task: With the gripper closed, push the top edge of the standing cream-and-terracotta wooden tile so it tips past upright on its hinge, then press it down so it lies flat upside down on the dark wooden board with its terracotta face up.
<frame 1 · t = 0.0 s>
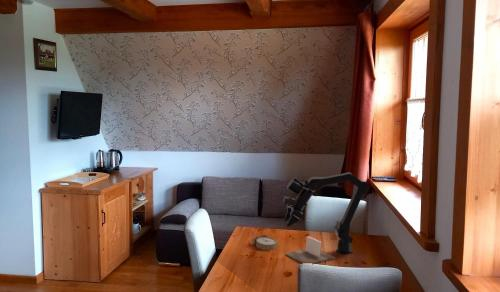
hand: (285, 223, 200), 15 cm above the table, tool tilted 35°, fingers open, 9 cm apart
tile: (313, 245, 196), point 5 cm above the table, hinge at 85.0°
alarm clock: (264, 246, 210), on the table
board: (309, 257, 195), on the table
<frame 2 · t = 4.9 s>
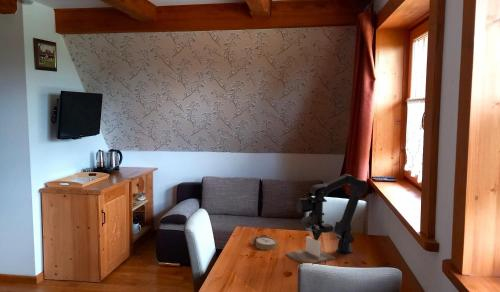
hand: (316, 240, 196), 8 cm above the table, tool pointing down, fingers closed, pressing on tile
tile: (313, 245, 195), point 5 cm above the table, hinge at 86.9°, touching gripper
everything else where it was.
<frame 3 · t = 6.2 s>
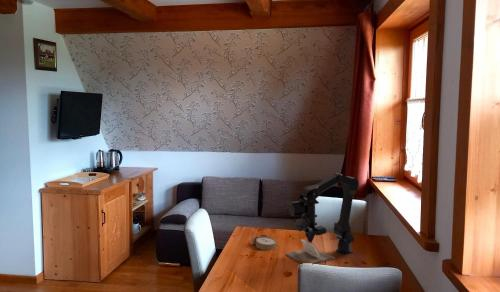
hand: (310, 243, 194), 7 cm above the table, tool pointing down, fingers closed, pressing on tile
tile: (310, 247, 194), point 5 cm above the table, hinge at 119.5°, touching gripper
everything else where it was.
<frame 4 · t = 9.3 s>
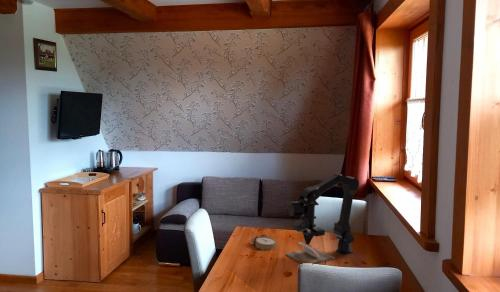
hand: (307, 244, 193), 7 cm above the table, tool pointing down, fingers closed, pressing on tile
tile: (309, 248, 194), point 4 cm above the table, hinge at 133.7°, touching gripper
everything else where it was.
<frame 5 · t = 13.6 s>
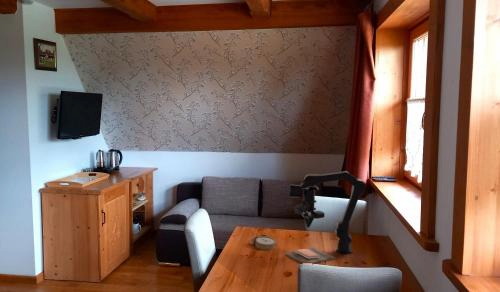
hand: (308, 227, 205), 12 cm above the table, tool pointing down, fingers closed
tile: (307, 253, 194), point 2 cm above the table, hinge at 173.4°
everything else where it was.
at the end: tile at +173° (first picture: +85°); alarm clock moved 0.8 cm from its start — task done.
